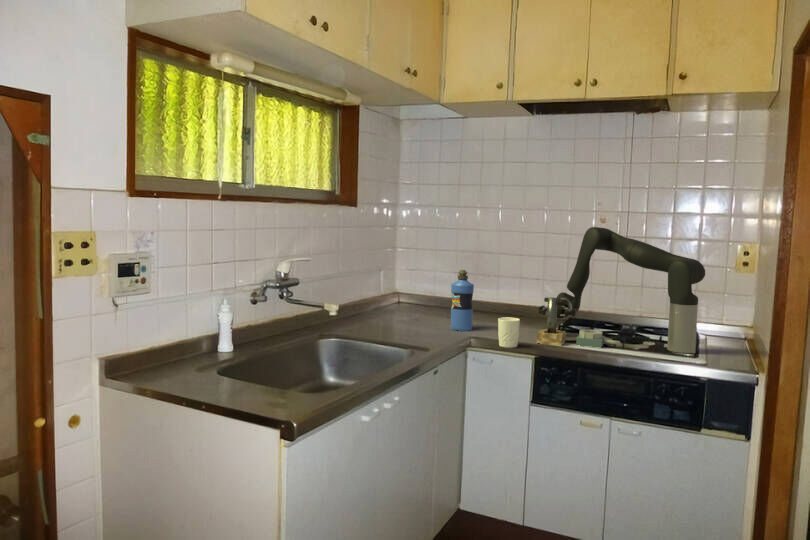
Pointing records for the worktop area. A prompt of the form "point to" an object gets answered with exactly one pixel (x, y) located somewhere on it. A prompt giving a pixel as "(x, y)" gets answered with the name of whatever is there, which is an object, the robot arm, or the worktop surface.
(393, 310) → the worktop surface
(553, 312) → the chuck key
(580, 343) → the chuck block
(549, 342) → the tan flat block
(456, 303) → the water bottle
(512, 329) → the white cup
